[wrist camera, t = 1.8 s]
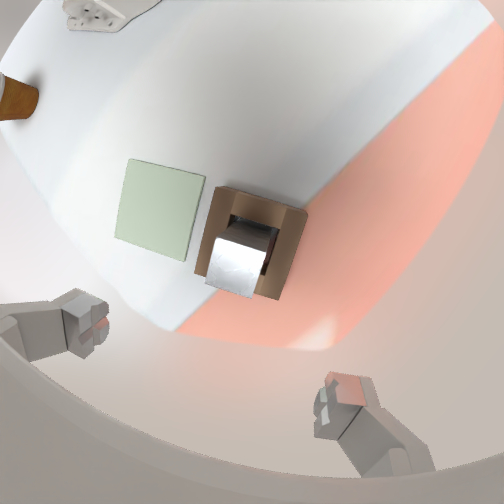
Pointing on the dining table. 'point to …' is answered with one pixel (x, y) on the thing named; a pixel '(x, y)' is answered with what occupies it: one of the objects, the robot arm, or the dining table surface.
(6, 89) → the disposable coffee cup
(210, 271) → the peg
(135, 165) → the mat
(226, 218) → the socket block
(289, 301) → the dining table surface
